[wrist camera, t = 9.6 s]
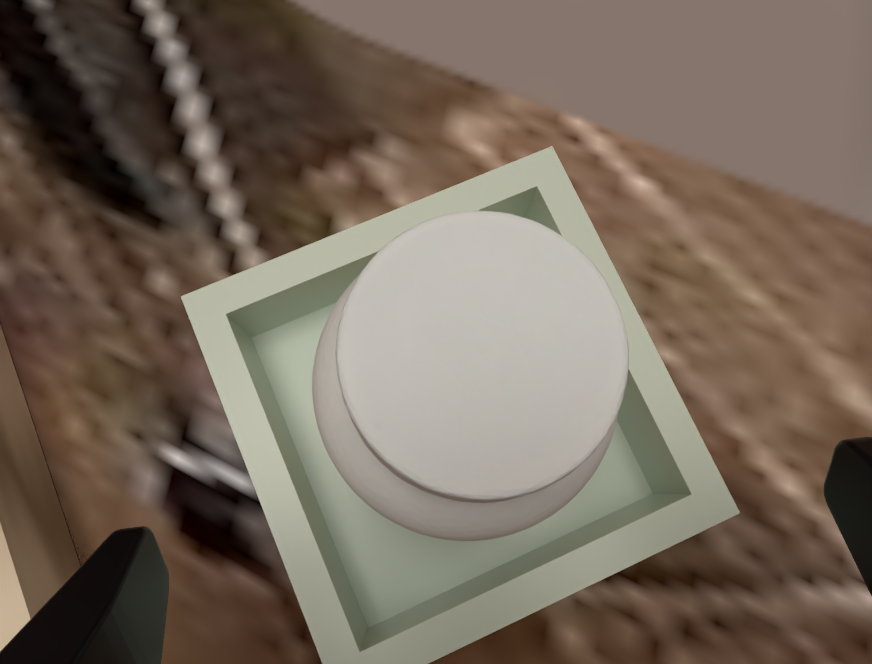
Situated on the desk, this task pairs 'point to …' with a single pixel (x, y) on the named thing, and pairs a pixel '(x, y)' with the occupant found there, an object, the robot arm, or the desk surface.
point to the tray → (393, 544)
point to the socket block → (26, 513)
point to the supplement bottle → (471, 376)
